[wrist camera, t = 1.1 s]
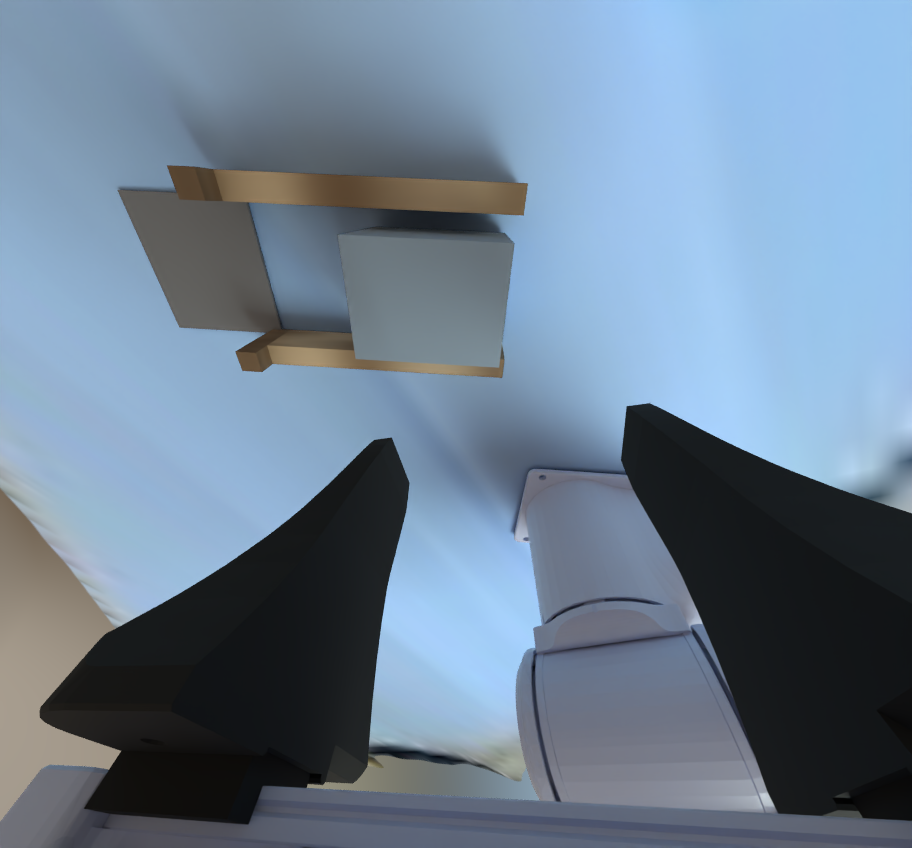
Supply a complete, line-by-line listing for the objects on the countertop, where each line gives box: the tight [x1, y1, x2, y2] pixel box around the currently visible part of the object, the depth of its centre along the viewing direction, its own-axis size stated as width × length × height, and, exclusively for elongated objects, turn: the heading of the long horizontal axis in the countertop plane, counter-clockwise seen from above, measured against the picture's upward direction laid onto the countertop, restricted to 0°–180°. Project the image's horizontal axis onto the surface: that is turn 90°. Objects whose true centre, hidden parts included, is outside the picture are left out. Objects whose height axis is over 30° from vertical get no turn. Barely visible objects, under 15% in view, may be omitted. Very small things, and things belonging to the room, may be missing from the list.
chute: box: [167, 166, 528, 378], centre depth 15 cm, size 13×8×4 cm, turn 88°
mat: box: [118, 190, 282, 333], centre depth 17 cm, size 6×6×1 cm
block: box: [337, 227, 514, 368], centre depth 14 cm, size 6×4×5 cm
